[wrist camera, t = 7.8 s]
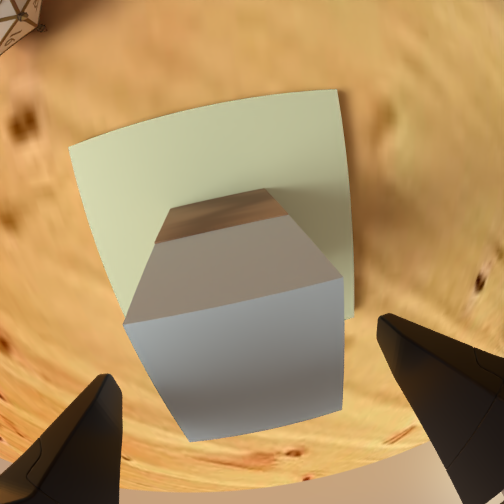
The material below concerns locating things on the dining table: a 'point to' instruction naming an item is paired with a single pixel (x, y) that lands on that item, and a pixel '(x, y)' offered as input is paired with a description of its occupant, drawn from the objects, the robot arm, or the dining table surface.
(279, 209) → the walnut block
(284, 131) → the base board
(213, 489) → the dining table surface
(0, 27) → the game die
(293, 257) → the grey block
